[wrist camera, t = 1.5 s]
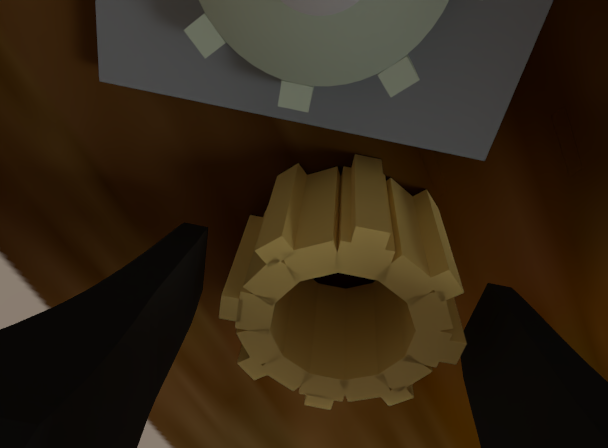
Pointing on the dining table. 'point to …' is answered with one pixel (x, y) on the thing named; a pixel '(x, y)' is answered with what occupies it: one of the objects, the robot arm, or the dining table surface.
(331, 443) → the dining table surface
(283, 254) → the loose gear
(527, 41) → the gear board
